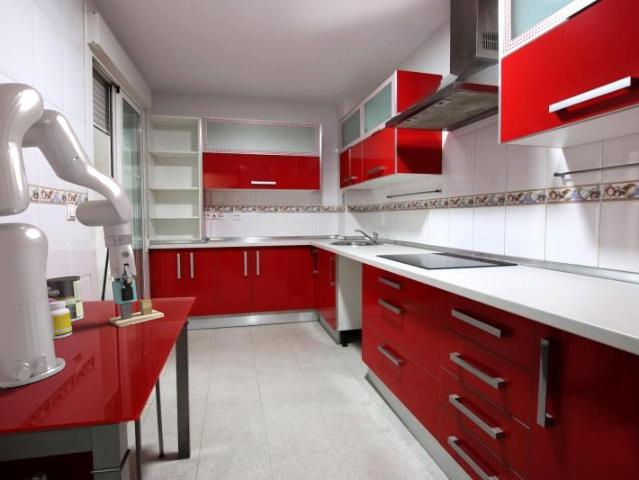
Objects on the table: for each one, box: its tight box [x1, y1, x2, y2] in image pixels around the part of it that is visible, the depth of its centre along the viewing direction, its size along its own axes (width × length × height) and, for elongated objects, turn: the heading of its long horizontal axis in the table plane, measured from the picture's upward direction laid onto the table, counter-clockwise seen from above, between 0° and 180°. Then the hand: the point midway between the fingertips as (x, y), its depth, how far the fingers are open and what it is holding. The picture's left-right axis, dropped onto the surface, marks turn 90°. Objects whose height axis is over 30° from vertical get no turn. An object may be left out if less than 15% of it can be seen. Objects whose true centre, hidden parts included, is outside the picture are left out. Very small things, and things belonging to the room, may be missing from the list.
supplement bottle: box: [49, 301, 73, 340], centre depth 101 cm, size 5×5×10 cm
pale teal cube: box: [111, 278, 138, 305], centre depth 112 cm, size 5×5×7 cm
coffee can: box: [46, 275, 85, 323], centre depth 120 cm, size 10×10×14 cm
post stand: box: [109, 298, 165, 328], centre depth 114 cm, size 10×13×8 cm
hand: (125, 298), depth 112 cm, fingers closed on pale teal cube, 5 cm apart
